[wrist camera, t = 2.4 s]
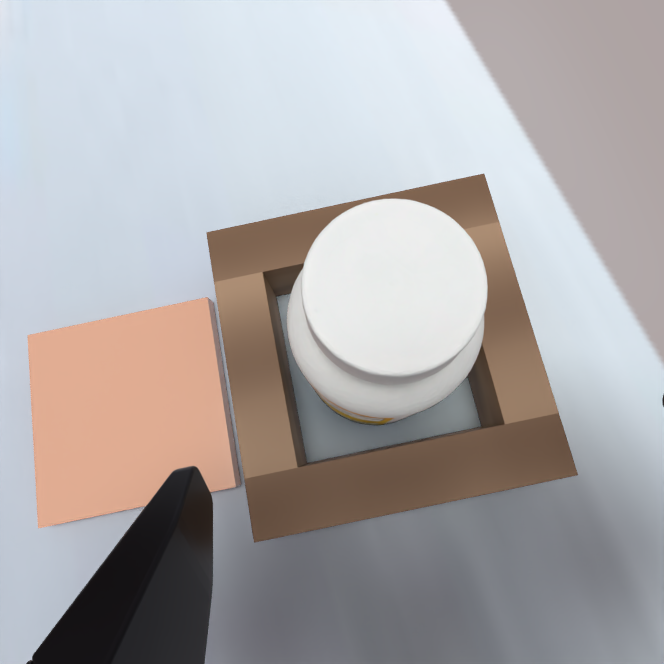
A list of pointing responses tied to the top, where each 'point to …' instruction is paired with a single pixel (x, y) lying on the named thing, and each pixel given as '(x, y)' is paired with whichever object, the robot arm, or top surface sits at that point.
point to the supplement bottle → (388, 310)
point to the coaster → (128, 410)
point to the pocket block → (396, 460)
